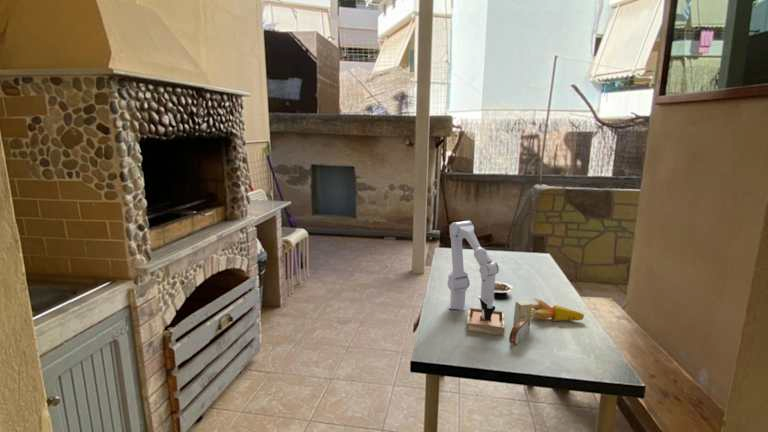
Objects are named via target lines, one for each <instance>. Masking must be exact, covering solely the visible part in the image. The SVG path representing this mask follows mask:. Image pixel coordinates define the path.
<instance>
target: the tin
mask: <svg viewBox="0 0 768 432" xmlns="http://www.w3.org/2000/svg"><path fill="white" fill-rule="evenodd" d="M527 328H528V321H527V320H525V319H523V318H522V319H520V320H519V321H518V322H517V323H516V324H515V325H514V326H513V325H512V329H511V331H510V333H509V339H508V342H509V343H510V344H513V345H514V346H516V345H518V344H520V343H521V341H522V340H523V339H524V338H525V337H526V335H527V332H528V329H527Z"/></svg>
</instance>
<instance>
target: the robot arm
mask: <svg viewBox="0 0 768 432" xmlns="http://www.w3.org/2000/svg"><path fill="white" fill-rule="evenodd" d="M448 227H449V238H450V243H451V244H450V247H451V249H450V250H451V261H452V263H451V264H452V271H451V272H449V274H448V276H447V277H448V280H447V287H448V289H449V290H450V302H449V306H448V309H450V310H459V311H466V307H467V301H466V293H467V292H466V291H467V290H468V288H470V285H471V284H470V283H471V282H470V279H469V275H468V273H467V272H466V271H465V268H464V254H463V251H464V250H463V239H466V241H467V242H468V244H469V245H470V247H471V248H472V250H473V257H474V258H475V259H476V262H477V263H478V265H479V273H480V278H481V286H480V289H481V290H480V295H478V296H477V299H478V300H479V301H480V309H483V310H484V317H485V320H490V319H491V316H492V313H493V311H494V310H496V306H495V305H493V304H494V300H495V286H496V285H495V284H496V275H498V274H499V271H500V269H499V265H498V263H497V262H496V261H494V260H493V259H492V258H491V257H490V255H489V254H488V252H487V250H486V249H485V247H484V248H483V247H482V246H481V245H480V242H479V240H478V238H477V236H476V234H475V232H474V231H475V226H474V224H473V223H472V221H471V220H463V221H456V222H455V221H453V222H452V223H451V224H450V225H449V226H448Z"/></svg>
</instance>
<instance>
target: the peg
mask: <svg viewBox="0 0 768 432" xmlns="http://www.w3.org/2000/svg"><path fill="white" fill-rule="evenodd" d="M481 309H482V308H481ZM481 321H487V322H489V320H485V317H484V310H483V309H482V319H481Z"/></svg>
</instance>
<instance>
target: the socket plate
mask: <svg viewBox="0 0 768 432" xmlns="http://www.w3.org/2000/svg"><path fill="white" fill-rule="evenodd" d="M481 319H482V312H474V311H473V316H472V323H478V324H486V325H494V326H499V314H492V316H491V319H490V320H489V322H487V321H481Z"/></svg>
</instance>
